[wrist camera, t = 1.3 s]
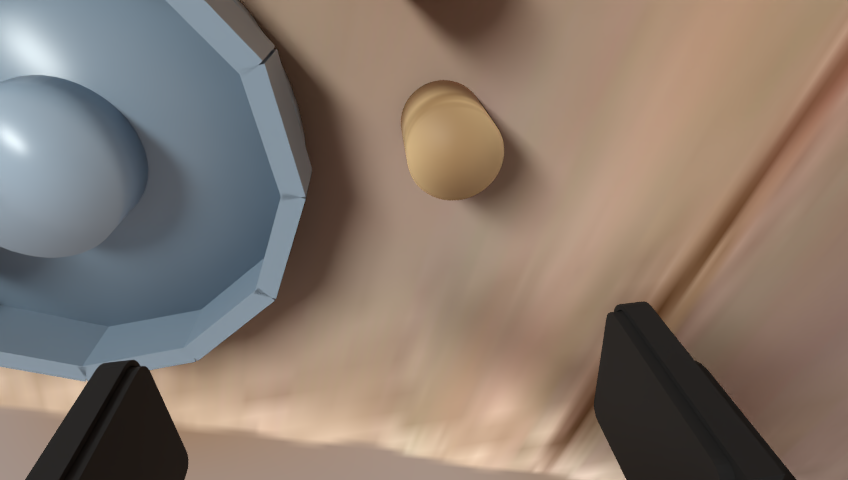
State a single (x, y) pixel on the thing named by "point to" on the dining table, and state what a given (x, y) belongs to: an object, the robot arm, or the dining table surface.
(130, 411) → the robot arm
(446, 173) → the bead
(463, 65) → the dining table surface
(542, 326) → the dining table surface
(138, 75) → the tray
